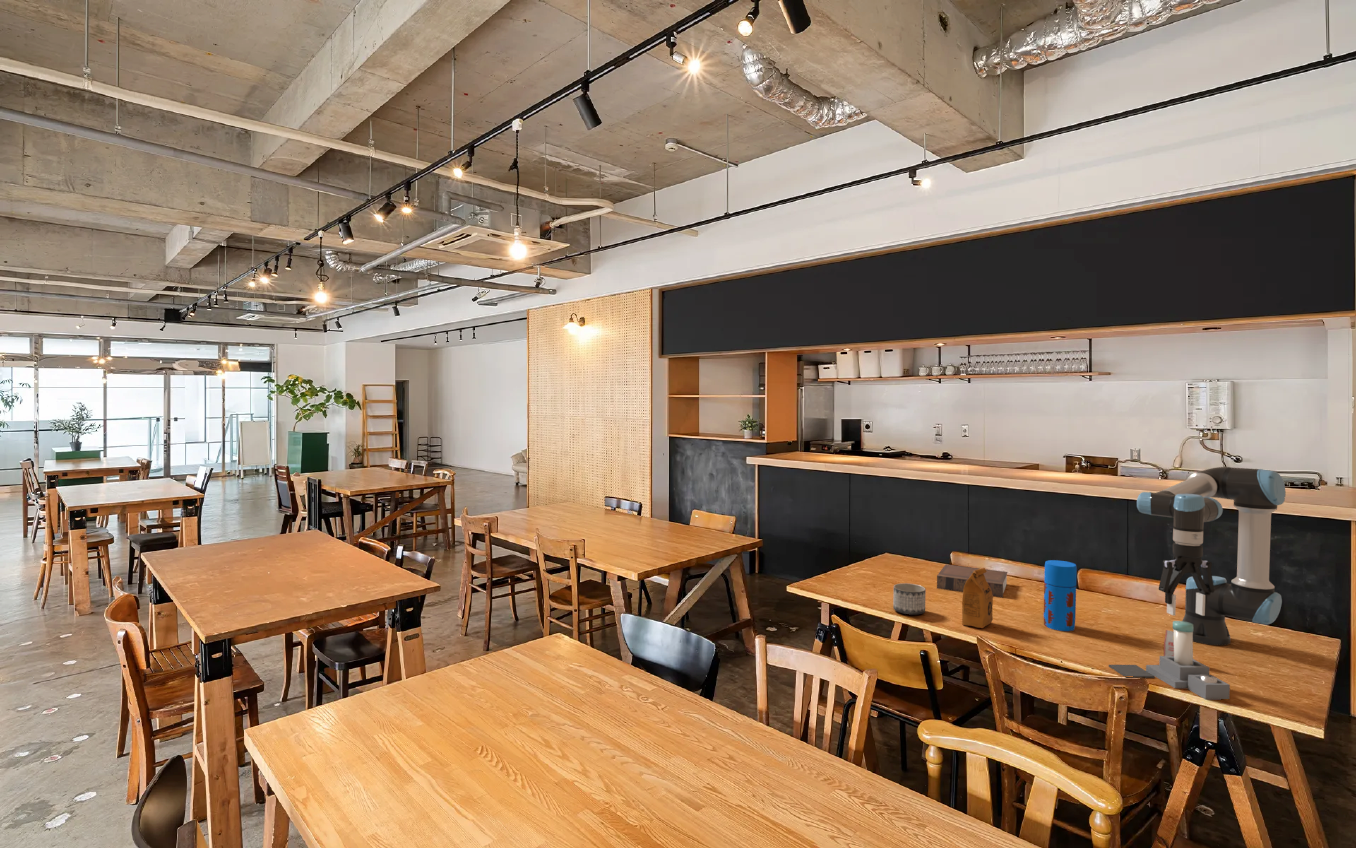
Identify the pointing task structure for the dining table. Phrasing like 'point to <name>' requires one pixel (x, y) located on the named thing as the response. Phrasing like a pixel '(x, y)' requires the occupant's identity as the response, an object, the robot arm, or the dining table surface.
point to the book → (958, 575)
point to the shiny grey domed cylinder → (1208, 678)
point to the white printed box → (1169, 643)
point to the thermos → (1060, 595)
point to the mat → (1131, 671)
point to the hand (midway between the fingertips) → (1185, 614)
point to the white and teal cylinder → (1183, 643)
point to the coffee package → (977, 601)
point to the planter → (909, 598)
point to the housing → (1189, 678)
